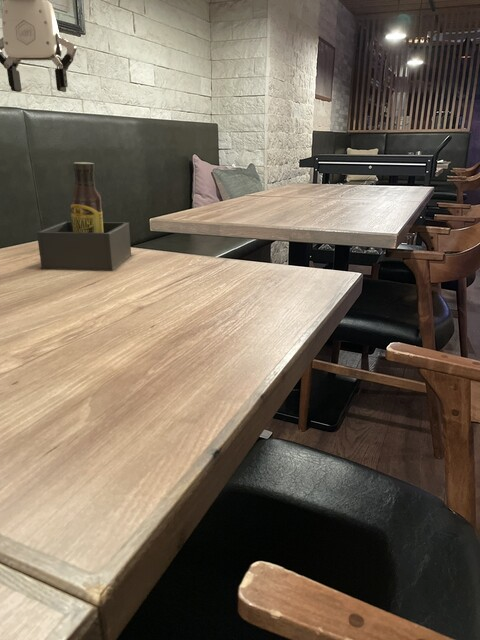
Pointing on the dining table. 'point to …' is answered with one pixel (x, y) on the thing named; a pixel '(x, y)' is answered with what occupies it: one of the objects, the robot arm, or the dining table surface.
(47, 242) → the tub
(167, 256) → the dining table surface
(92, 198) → the sauce bottle
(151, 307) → the dining table surface
